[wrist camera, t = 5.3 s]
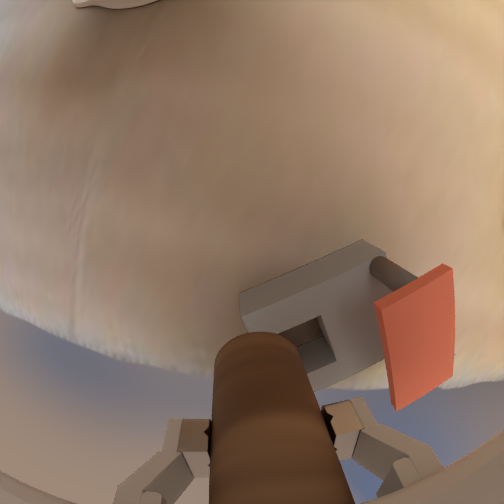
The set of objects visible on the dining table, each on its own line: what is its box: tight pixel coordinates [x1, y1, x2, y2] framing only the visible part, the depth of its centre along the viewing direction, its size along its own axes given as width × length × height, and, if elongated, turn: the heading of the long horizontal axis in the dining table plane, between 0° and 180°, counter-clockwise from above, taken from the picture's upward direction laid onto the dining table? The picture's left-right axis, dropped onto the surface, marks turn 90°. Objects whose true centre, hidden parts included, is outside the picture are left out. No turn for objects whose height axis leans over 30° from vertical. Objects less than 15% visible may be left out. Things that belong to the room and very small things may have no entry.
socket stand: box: [239, 240, 455, 411], centre depth 24 cm, size 12×16×12 cm
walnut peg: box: [209, 332, 355, 504], centre depth 8 cm, size 4×4×10 cm
